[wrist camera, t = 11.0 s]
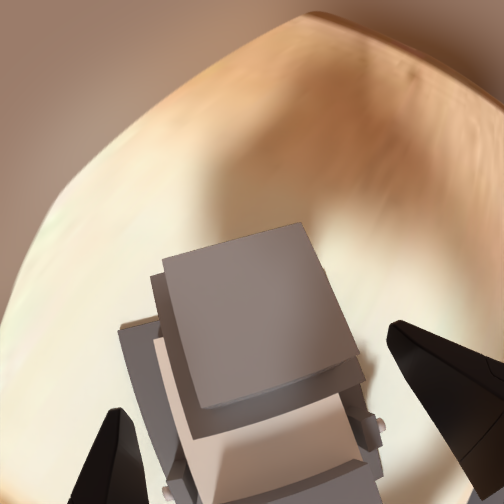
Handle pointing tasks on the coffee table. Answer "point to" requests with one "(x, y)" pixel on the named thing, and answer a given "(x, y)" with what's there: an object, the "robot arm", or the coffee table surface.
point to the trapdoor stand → (165, 432)
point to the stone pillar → (252, 330)
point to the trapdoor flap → (276, 455)
